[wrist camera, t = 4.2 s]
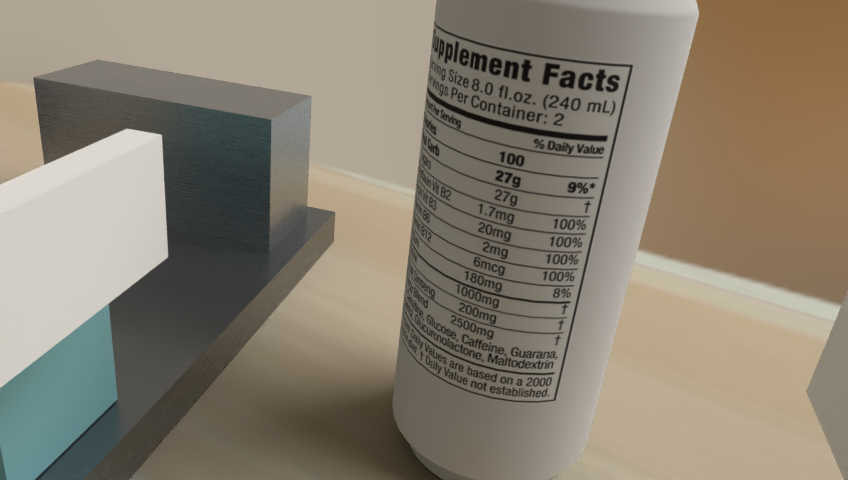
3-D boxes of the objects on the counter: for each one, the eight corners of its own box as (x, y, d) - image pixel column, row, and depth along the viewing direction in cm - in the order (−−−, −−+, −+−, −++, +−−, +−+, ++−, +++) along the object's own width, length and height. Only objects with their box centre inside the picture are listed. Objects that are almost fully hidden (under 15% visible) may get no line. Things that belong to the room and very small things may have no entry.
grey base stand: (333, 241, 34) (341, 94, 31) (-47, 682, 14) (-124, 399, 11) (105, 194, 36) (92, 52, 33) (-505, 526, 16) (-673, 249, 13)
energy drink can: (618, 448, 23) (765, -64, 16) (497, 547, 19) (628, -81, 12) (476, 358, 26) (551, -89, 20) (349, 424, 22) (392, -108, 16)
